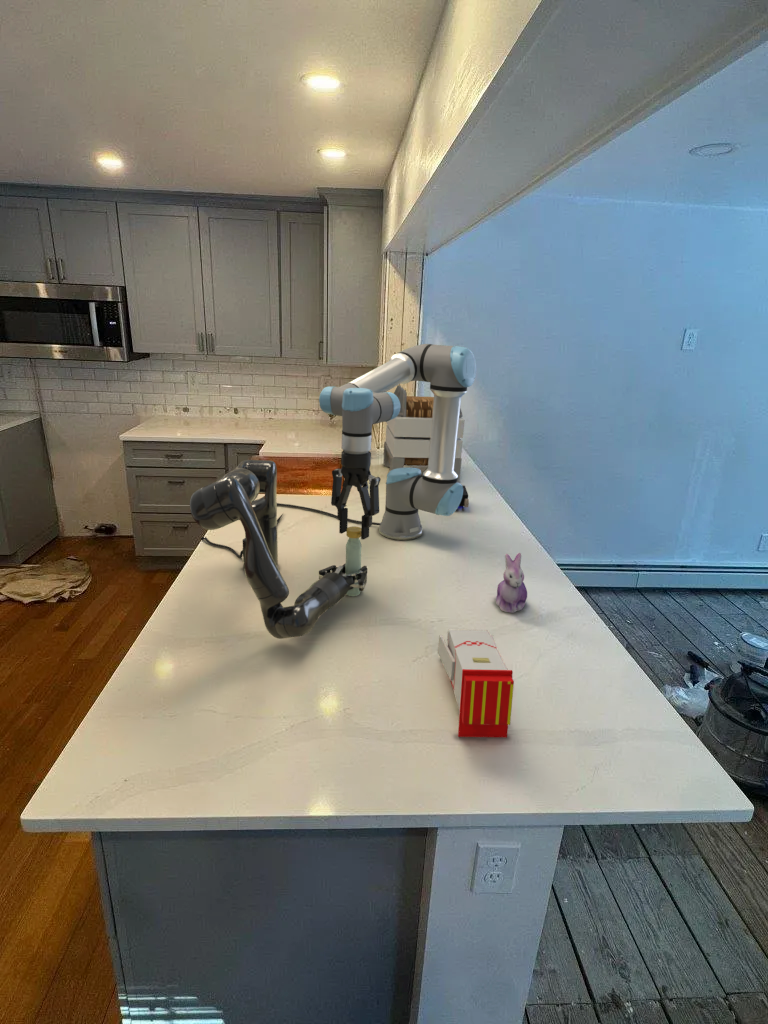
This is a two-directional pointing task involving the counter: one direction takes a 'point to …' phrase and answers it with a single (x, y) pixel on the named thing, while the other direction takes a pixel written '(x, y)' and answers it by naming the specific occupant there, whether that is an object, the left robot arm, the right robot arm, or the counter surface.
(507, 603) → the figurine
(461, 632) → the toy
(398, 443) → the transformer
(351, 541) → the bottle
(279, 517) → the feather
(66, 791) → the counter surface
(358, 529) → the cap
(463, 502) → the figurine character
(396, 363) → the right robot arm
